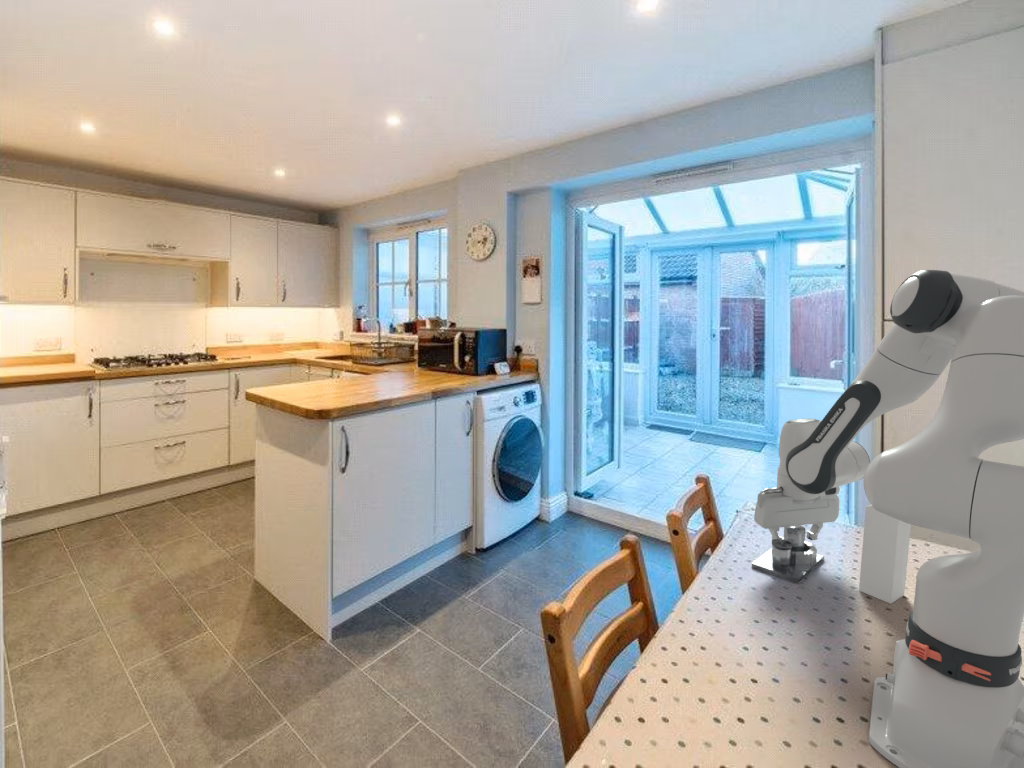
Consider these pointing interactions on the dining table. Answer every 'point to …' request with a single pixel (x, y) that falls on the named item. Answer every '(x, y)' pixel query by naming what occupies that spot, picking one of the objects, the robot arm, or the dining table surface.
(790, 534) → the grey cylindrical peg
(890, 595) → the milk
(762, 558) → the flange
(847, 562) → the dining table surface
